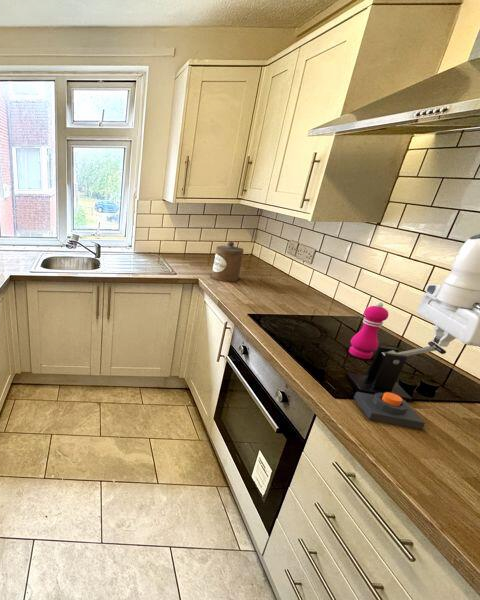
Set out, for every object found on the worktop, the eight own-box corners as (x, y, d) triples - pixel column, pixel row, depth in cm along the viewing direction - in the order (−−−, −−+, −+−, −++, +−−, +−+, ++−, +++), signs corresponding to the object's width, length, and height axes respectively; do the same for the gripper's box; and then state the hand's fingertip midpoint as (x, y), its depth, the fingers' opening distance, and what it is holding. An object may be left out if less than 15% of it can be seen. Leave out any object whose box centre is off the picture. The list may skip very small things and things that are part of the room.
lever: (434, 346, 88) (432, 339, 87) (447, 355, 83) (445, 347, 83) (380, 356, 93) (378, 349, 93) (390, 365, 89) (387, 358, 88)
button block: (401, 406, 87) (407, 394, 85) (422, 429, 79) (428, 417, 77) (353, 397, 90) (358, 386, 89) (368, 419, 82) (374, 407, 81)
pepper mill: (371, 352, 113) (392, 301, 105) (375, 362, 107) (398, 308, 99) (345, 347, 116) (364, 296, 108) (348, 356, 110) (368, 303, 103)
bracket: (392, 383, 96) (409, 346, 92) (410, 402, 89) (430, 363, 84) (346, 375, 100) (359, 340, 95) (359, 393, 92) (375, 355, 87)
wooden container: (207, 274, 198) (213, 239, 189) (231, 274, 198) (238, 239, 189) (217, 281, 184) (223, 244, 176) (242, 281, 184) (250, 244, 176)
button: (395, 399, 84) (397, 393, 84) (403, 407, 81) (405, 402, 80) (378, 396, 85) (381, 390, 85) (385, 404, 82) (388, 399, 81)
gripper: (517, 315, 70) (485, 367, 75) (451, 285, 88) (429, 329, 93) (480, 311, 72) (451, 362, 77) (422, 282, 90) (403, 326, 95)
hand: (439, 344), depth 85 cm, fingers closed
